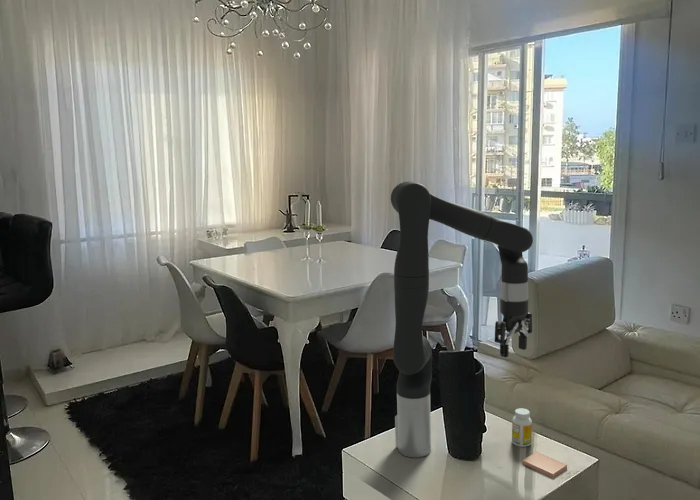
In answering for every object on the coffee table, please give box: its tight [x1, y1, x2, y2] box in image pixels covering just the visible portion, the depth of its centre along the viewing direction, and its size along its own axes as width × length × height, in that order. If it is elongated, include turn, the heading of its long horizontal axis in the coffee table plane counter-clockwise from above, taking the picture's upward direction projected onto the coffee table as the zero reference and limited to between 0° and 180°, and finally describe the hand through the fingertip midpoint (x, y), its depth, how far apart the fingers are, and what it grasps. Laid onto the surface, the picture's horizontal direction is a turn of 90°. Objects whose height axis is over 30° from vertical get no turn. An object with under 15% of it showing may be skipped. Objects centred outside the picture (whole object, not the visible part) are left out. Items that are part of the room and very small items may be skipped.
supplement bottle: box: [511, 407, 533, 448], centre depth 164 cm, size 5×5×10 cm
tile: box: [522, 451, 568, 479], centre depth 152 cm, size 2×6×9 cm
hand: (513, 352), depth 163 cm, fingers open, 8 cm apart
